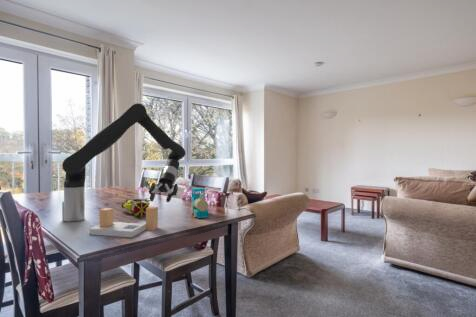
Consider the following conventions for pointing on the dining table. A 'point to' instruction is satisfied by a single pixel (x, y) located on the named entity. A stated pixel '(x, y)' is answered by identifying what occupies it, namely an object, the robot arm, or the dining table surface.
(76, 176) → the robot arm
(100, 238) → the dining table surface
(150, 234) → the dining table surface
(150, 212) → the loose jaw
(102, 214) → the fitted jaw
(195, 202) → the teal food carton
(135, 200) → the toy
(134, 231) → the plate
